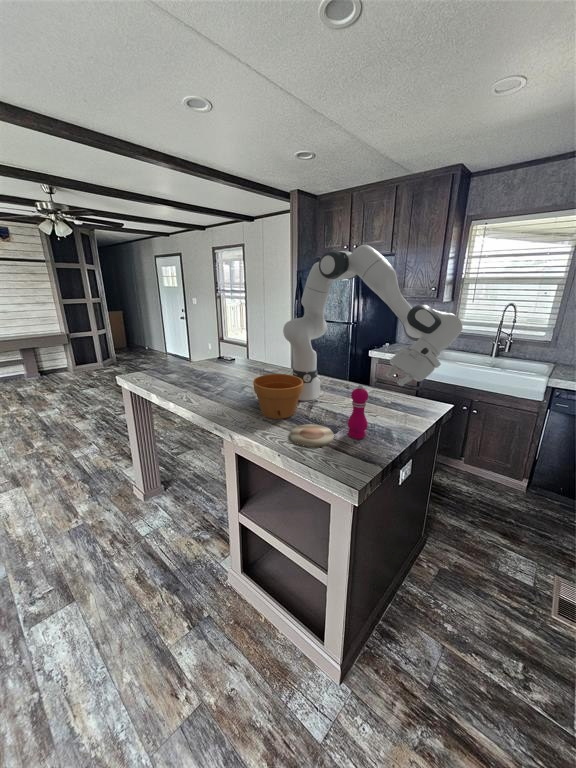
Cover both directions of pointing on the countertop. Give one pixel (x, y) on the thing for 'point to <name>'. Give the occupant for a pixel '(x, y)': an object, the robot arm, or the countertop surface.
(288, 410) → the flower pot
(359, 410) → the pepper mill
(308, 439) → the disc
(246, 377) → the countertop surface
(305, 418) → the countertop surface
